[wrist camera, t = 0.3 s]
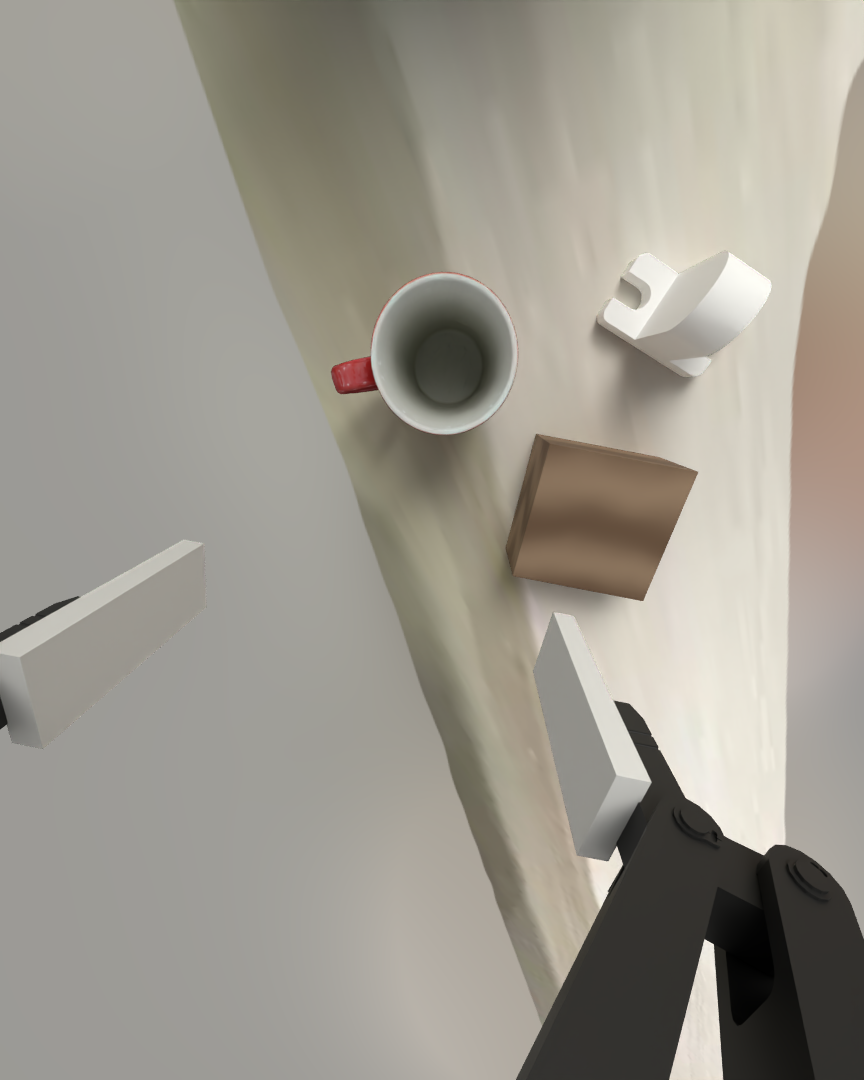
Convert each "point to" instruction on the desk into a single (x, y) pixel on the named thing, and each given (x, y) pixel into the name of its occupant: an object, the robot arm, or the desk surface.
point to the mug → (438, 354)
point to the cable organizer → (686, 309)
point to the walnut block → (595, 516)
